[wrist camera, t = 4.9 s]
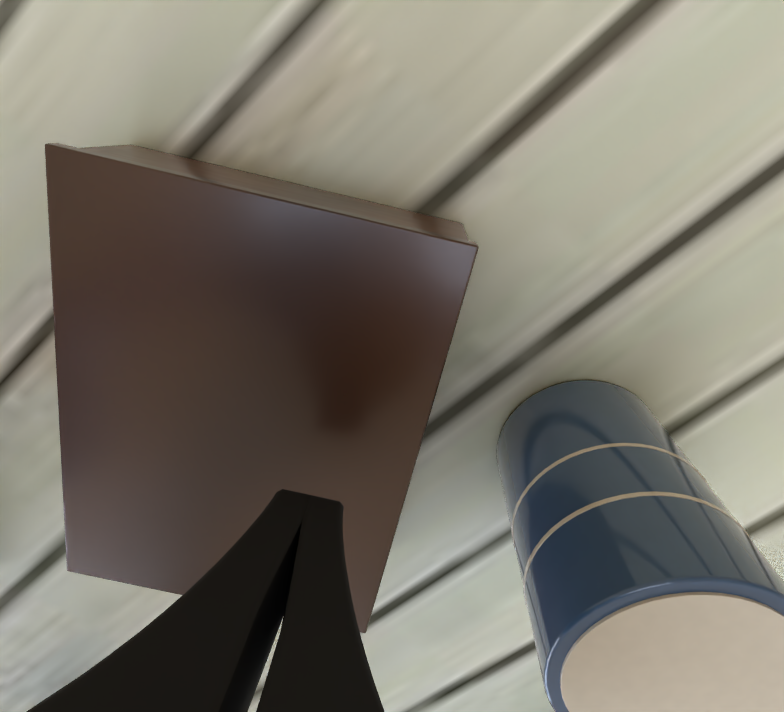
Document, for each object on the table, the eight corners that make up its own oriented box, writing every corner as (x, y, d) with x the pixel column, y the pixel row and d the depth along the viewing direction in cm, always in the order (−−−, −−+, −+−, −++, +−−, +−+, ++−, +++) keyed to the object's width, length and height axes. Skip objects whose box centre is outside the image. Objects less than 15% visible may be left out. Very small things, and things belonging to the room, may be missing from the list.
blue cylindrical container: (358, 545, 14) (663, 916, 9) (399, 387, 12) (838, 735, 6) (541, 468, 20) (802, 662, 14) (591, 350, 18) (921, 521, 12)
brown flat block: (123, 501, 19) (66, 571, 16) (125, 138, 14) (43, 142, 11) (375, 555, 19) (365, 634, 16) (468, 220, 14) (479, 246, 11)
